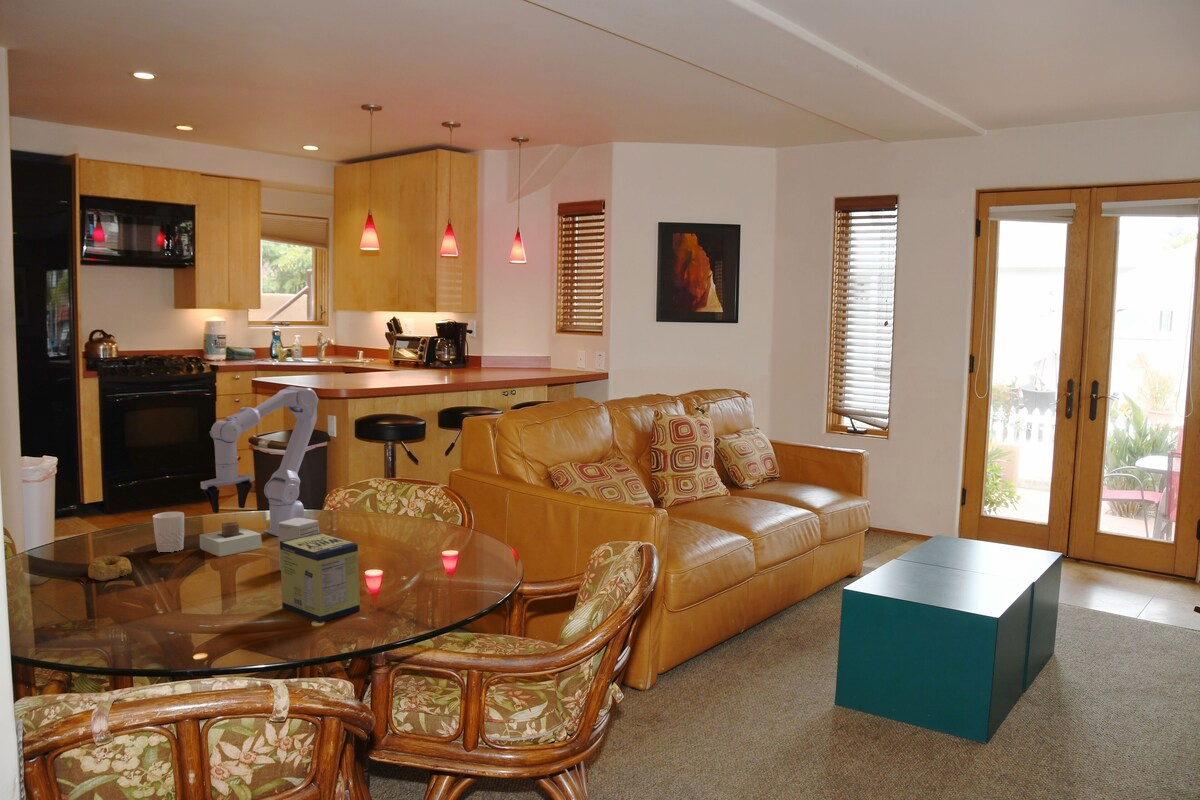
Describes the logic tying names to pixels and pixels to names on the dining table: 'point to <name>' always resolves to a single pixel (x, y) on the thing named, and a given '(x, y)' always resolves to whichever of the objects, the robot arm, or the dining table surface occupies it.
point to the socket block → (230, 542)
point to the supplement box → (296, 529)
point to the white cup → (169, 531)
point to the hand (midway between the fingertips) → (228, 510)
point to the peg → (230, 529)
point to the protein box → (319, 577)
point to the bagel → (109, 567)
